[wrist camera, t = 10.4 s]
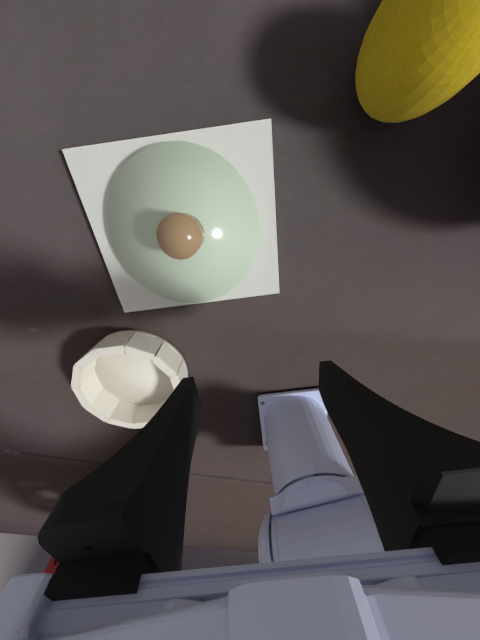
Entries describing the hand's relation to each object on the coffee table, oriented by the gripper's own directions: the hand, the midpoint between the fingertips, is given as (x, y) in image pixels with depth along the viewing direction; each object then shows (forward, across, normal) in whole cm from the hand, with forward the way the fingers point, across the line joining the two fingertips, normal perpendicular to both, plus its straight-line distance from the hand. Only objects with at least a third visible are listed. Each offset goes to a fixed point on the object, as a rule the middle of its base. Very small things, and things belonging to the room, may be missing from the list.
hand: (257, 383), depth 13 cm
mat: (+9, +4, -8) cm, 13 cm away
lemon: (+10, -10, -15) cm, 20 cm away
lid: (+9, +4, -8) cm, 12 cm away
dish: (+9, +12, +5) cm, 16 cm away
